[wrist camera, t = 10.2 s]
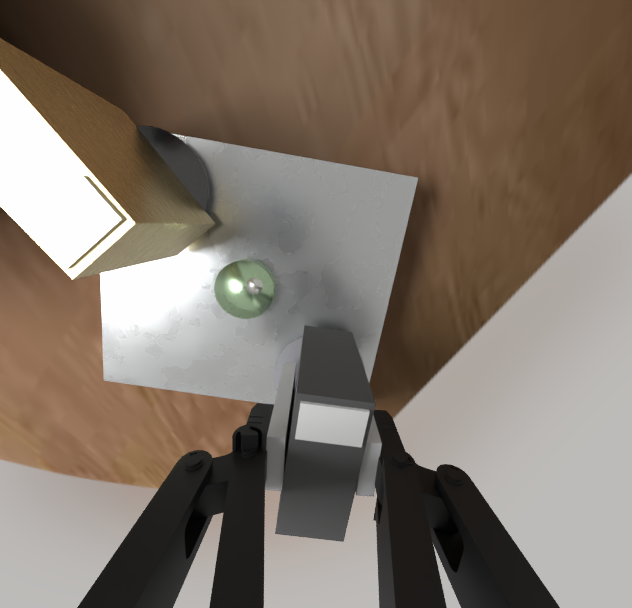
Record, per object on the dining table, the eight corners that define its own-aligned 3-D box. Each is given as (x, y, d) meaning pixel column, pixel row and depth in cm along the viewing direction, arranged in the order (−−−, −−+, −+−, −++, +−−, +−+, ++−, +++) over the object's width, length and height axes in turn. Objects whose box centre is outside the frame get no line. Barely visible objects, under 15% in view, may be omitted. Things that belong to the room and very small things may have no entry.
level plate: (122, 366, 22) (97, 385, 19) (119, 131, 18) (86, 115, 15) (357, 400, 23) (362, 423, 20) (407, 182, 18) (422, 175, 16)
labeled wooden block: (73, 169, 16) (-158, 117, 8) (149, 94, 15) (-29, -45, 7) (162, 269, 18) (39, 306, 10) (237, 207, 17) (167, 192, 9)
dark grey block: (354, 424, 21) (377, 548, 13) (269, 413, 20) (239, 533, 12) (374, 332, 19) (416, 411, 11) (281, 319, 18) (255, 389, 11)
